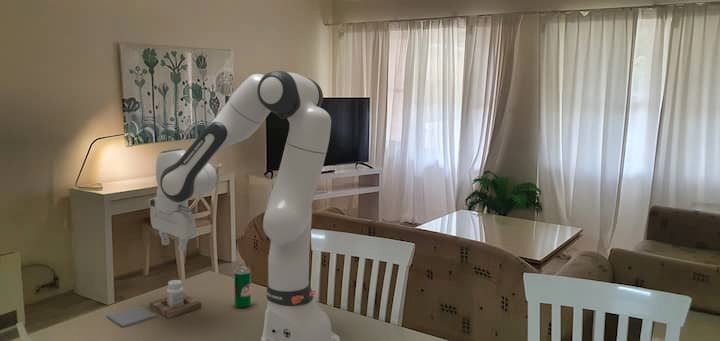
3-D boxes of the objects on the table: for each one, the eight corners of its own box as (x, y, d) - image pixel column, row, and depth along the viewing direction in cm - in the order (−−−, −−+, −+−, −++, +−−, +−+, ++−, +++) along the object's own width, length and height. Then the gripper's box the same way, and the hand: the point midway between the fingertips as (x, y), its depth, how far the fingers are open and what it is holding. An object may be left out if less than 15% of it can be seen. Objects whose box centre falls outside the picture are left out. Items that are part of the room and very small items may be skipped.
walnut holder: (201, 307, 168) (201, 302, 168) (168, 318, 160) (168, 312, 160) (182, 298, 175) (182, 293, 175) (149, 308, 167) (149, 302, 167)
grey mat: (156, 317, 161) (155, 315, 161) (122, 327, 153) (122, 325, 153) (139, 307, 167) (139, 305, 167) (106, 317, 160) (106, 315, 160)
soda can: (243, 310, 167) (242, 272, 165) (231, 306, 170) (230, 269, 168) (254, 304, 171) (254, 268, 170) (242, 301, 174) (242, 265, 172)
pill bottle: (186, 305, 169) (185, 279, 168) (179, 311, 165) (178, 285, 164) (172, 304, 170) (171, 278, 169) (164, 310, 166) (163, 283, 164)
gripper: (201, 206, 158) (202, 252, 160) (165, 196, 172) (166, 239, 174) (181, 210, 154) (182, 257, 156) (145, 199, 167) (147, 243, 169)
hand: (173, 247), depth 165 cm, fingers open, 8 cm apart
